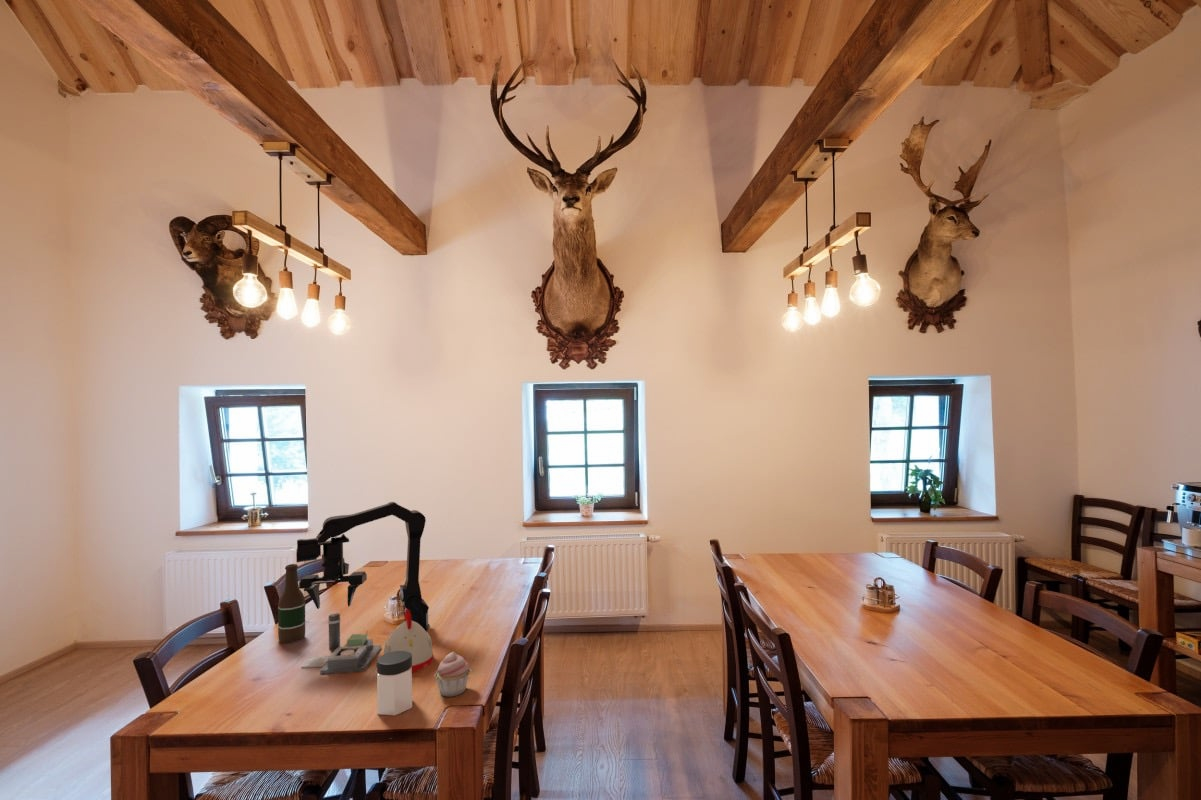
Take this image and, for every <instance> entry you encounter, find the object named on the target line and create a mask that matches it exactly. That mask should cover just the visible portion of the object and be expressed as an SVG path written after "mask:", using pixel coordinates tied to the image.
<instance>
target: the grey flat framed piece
mask: <svg viewBox="0 0 1201 800" xmlns="http://www.w3.org/2000/svg"><path fill="white" fill-rule="evenodd" d="M345 650H354V655H341V652H343V651H345ZM380 650H382V644H375V645H374V639H373V638H367V641H366V642H365V643H364V645H361V646H347V643H345V645H344V646H340V647H338V648H337V649H334V651H333V652H332V653H331V654H330V655H329V656H327V657H328V662H327V663H326V664H325V666H324V667H322V668H321V669H320V670H319V675H330V674H342V673H343V674H344V673H357V672H366V670H367V669H368V667H369V666H370V665H371V663H372V662H373V660H374V659H375V657H376V656H377V655H378V653H379V652H380Z"/></svg>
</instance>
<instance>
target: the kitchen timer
mask: <svg viewBox="0 0 1201 800" xmlns="http://www.w3.org/2000/svg"><path fill="white" fill-rule="evenodd" d="M403 618H404V621H403V622H401V623H400V624H399V625H397V627H395V628H394V630H393V631H392V632H391V634H390V636H389V638H388V639H386V640H385V642H384V648H383V654H382V655H384V654H386V653H389V652H394V651H407V652H410V653H411V654H412V672H416V671H420V670H422V669H424V668H426V667H429V665H430V664H432V663H433V661H434V651H433V642H432V637H431V635H430V634H429V633H428V632H427V631H425V630H424V629H423V627H422V626H420V625H419V624H418V623H416V622H414V621H412V619H411V614H410V611H409V609H405V612H404V616H403Z"/></svg>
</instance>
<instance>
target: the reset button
mask: <svg viewBox="0 0 1201 800" xmlns="http://www.w3.org/2000/svg"><path fill="white" fill-rule="evenodd" d="M341 655H354V650H345V651H343V652H341Z"/></svg>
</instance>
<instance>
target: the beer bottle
mask: <svg viewBox="0 0 1201 800" xmlns="http://www.w3.org/2000/svg"><path fill="white" fill-rule="evenodd" d="M298 568H299V566H298V564H296V563H290V564H287V565H286V566H285V567H284V569H285V579H284V582H285V583H284V589H283V592H282V593H281V594H280V596H279V598H278V599H279V600H278V602H277V603H278V604H277V619H278V620H277V625H278V626H277V627H278V628H277V632H278V634H277V637H278V641H279V642H280V643H282V644H288V643H290V644H292V643H295V642H297V641H298V642H299V641H301V640H302V639H303V638H305V636H306V598H305V595H304V593H303V592H302V590H301V589H299V578H298Z"/></svg>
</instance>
